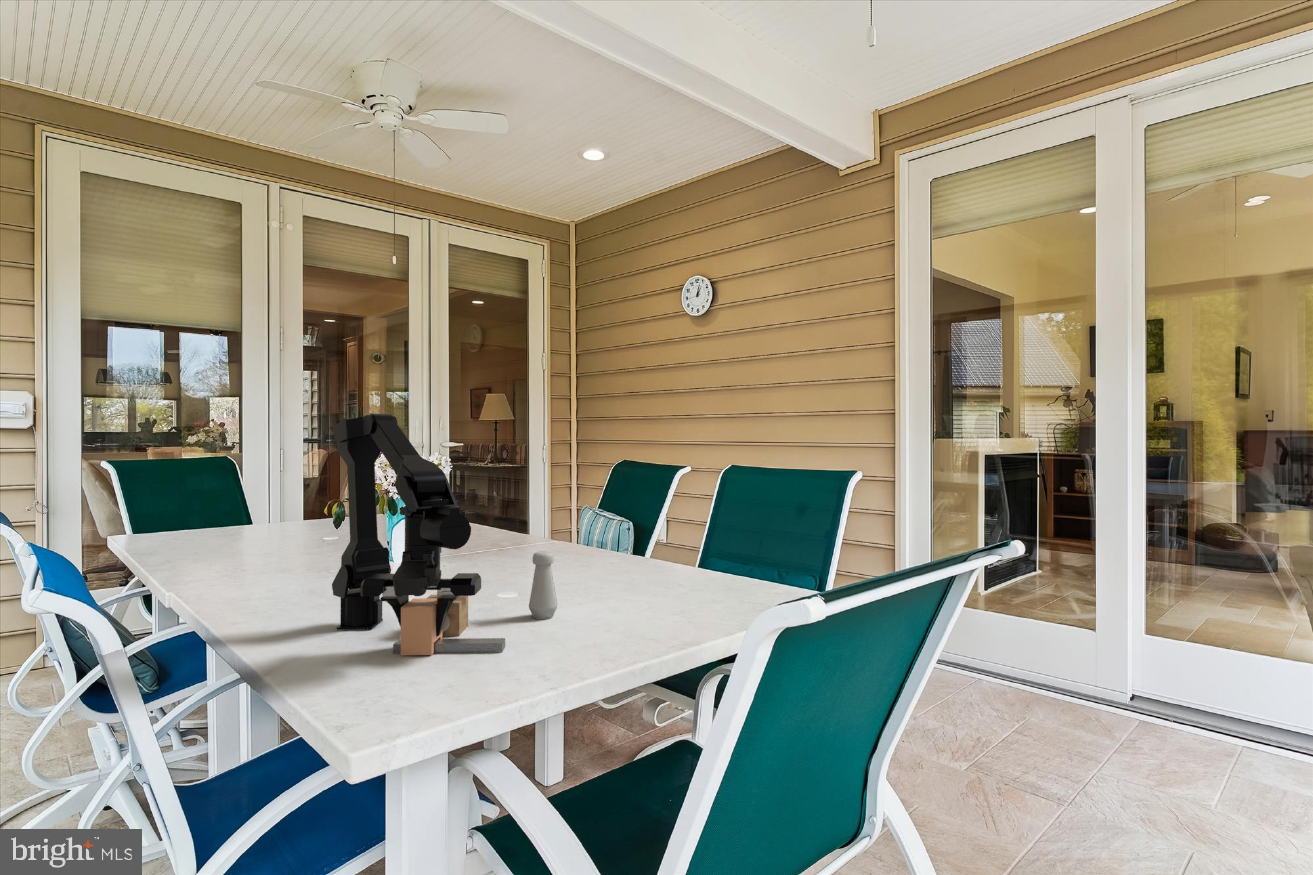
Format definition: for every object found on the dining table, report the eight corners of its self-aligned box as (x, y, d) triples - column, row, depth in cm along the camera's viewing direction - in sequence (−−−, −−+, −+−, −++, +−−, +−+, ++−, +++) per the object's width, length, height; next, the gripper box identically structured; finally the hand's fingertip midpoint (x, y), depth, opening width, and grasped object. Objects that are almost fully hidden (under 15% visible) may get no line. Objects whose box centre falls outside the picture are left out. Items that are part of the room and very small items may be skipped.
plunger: (435, 599, 128) (435, 584, 128) (439, 596, 131) (439, 580, 131) (450, 599, 128) (450, 583, 128) (454, 596, 131) (454, 580, 131)
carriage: (400, 655, 114) (400, 607, 114) (413, 643, 120) (413, 598, 120) (431, 654, 114) (431, 607, 114) (442, 643, 121) (442, 598, 121)
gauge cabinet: (419, 636, 125) (419, 603, 125) (431, 625, 133) (431, 594, 133) (458, 636, 126) (459, 603, 126) (468, 625, 133) (468, 594, 133)
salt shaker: (560, 613, 142) (561, 550, 143) (554, 620, 137) (554, 554, 137) (532, 612, 143) (533, 549, 143) (524, 619, 137) (525, 554, 137)
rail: (393, 653, 116) (393, 644, 116) (399, 647, 119) (399, 639, 119) (502, 652, 116) (502, 643, 116) (505, 646, 119) (505, 638, 119)
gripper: (347, 550, 109) (346, 650, 109) (467, 550, 110) (467, 649, 110) (373, 540, 120) (372, 631, 120) (482, 540, 121) (481, 630, 121)
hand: (422, 635), depth 117 cm, fingers closed on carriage, 5 cm apart
